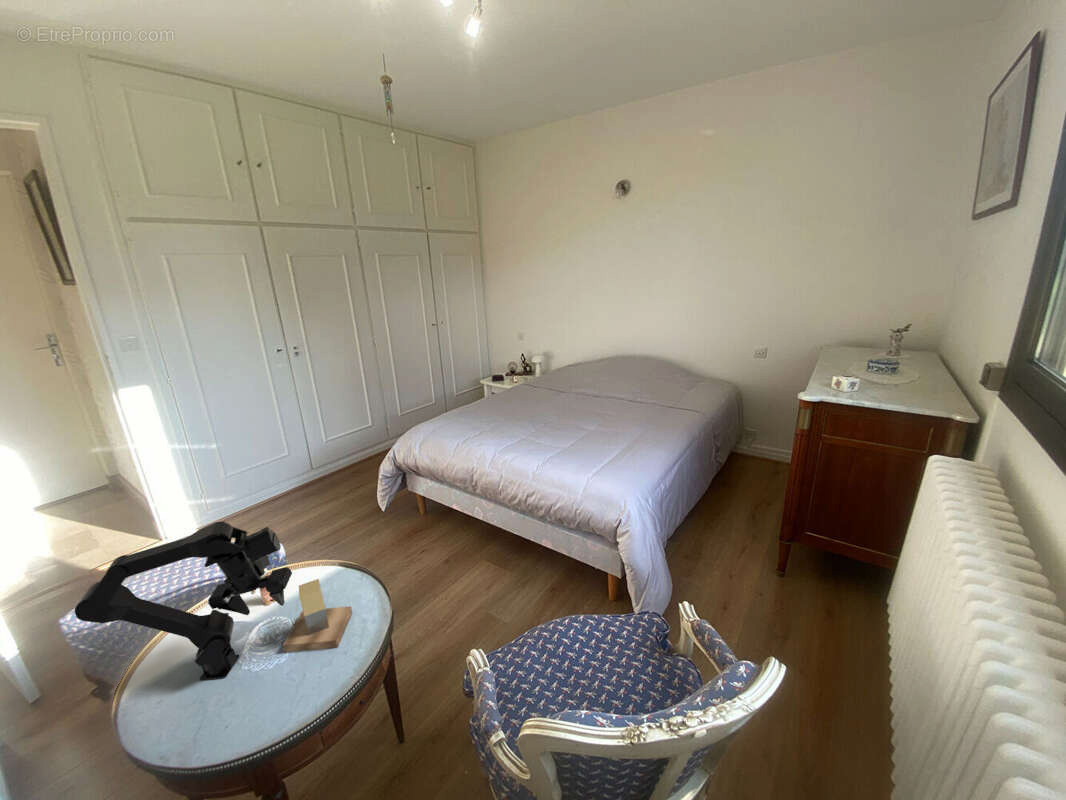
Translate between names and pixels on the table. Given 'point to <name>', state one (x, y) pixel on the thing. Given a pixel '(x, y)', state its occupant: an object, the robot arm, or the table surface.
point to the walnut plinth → (323, 638)
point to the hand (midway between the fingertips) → (266, 608)
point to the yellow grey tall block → (313, 606)
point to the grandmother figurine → (264, 591)
